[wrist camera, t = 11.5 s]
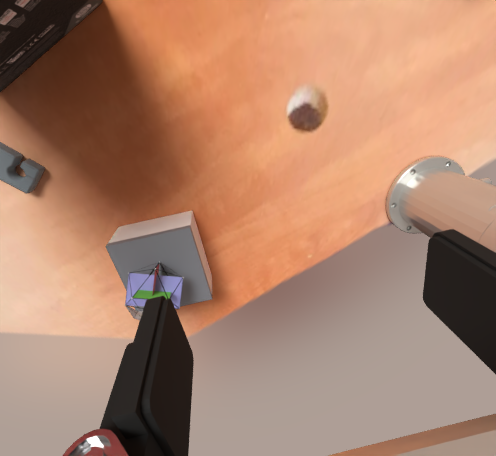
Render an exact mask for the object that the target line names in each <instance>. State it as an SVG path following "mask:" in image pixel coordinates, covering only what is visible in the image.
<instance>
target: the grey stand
mask: <svg viewBox="0 0 496 456" xmlns="http://www.w3.org/2000/svg"><path fill="white" fill-rule="evenodd" d="M106 248H107V251H108V253H109V255H110V257H111V259H112V261H113V263H114V265H115V267H116V270H117V272H118V274H119V276H120V278H121V280H122V282H123V284H124V286H125V288H126V291H127V285H128V275H129V274H128V273H130V272H133V273H136V274H150V273H151V272H152V270H149V269H154V268H155V267H156V266H157V264H158V263H159V262H160V263H162V264H161V265H162V266H161V265H160V263H159V272H158V275H161V276H167V275H168V276H173V277H179V276H182V277H184V278H183V284H182V292H181V301H180V306H185V305H189V304H193V303H198V302H202V301H206V300H211V299H212V274H211V271H210V268H209V264H208V261H207V258H206V254H205V251H204V248H203V244H202V241H201V238H200V234H199V231H198V228H197V224H196V221H195V218H194V214H193V211H187V212H183V213H178V214H173V215H169V216H164V217H160V218H155V219H151V220H146V221H142V222H137V223H133V224H128V225H124V226H119V227H118V228H117V230H116V231H115V233H114V235H113V236H112V238H111V239H110V241H109V242H108V244H107V245H106ZM153 264H154V265H153ZM150 265H151V266H150ZM164 265H165V266H164ZM147 266H148V267H147ZM144 267H145V268H144ZM162 267H163V268H164V270H165V272H168V273H167V275H166V273H165V272H163V271H164V270H163V268H162ZM167 267H168V268H167ZM141 268H142V269H141ZM138 269H139V270H138ZM143 270H146V271H143ZM160 270H161V271H160ZM172 270H173V271H172ZM137 271H140V272H137ZM175 272H176V273H175ZM169 273H171V274H169ZM173 274H174V275H173ZM178 274H179V275H178ZM151 275H155V270H154V272H153V273H152V274H151ZM176 275H178V276H176ZM134 307H135V309H136V310H137V311H140V310H141V311H143V309H141V308H144V306H134ZM136 307H139V308H136Z"/></svg>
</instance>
